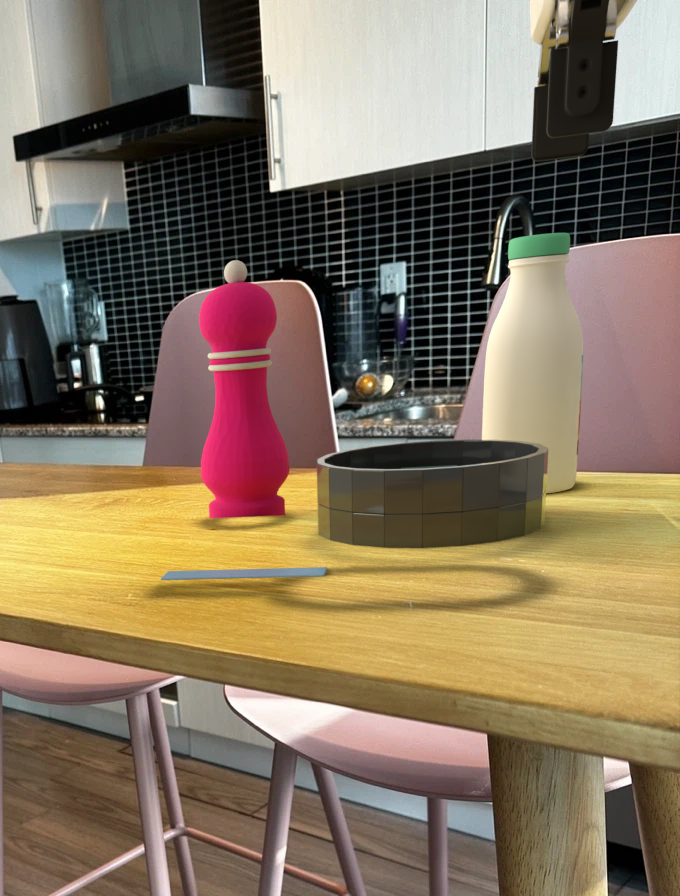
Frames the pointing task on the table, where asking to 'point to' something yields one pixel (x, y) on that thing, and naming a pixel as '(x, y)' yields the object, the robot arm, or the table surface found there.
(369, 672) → the table surface
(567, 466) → the milk bottle
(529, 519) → the dark round bowl
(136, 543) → the table surface
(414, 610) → the table surface
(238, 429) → the pepper mill
